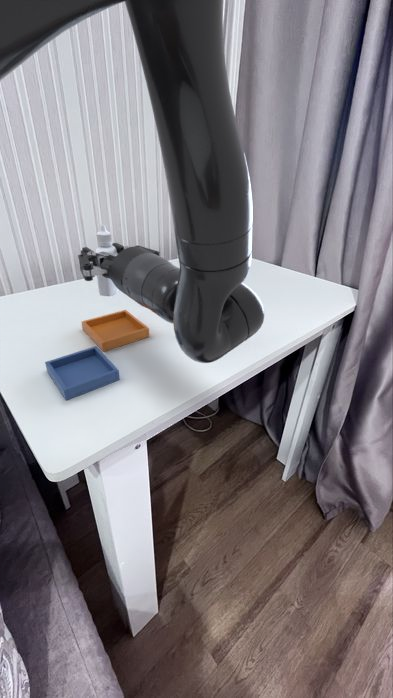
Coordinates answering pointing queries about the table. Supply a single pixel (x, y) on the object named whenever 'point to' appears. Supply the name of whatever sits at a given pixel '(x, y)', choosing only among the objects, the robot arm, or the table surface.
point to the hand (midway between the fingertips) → (99, 250)
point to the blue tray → (82, 372)
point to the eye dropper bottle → (104, 245)
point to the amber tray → (115, 330)
